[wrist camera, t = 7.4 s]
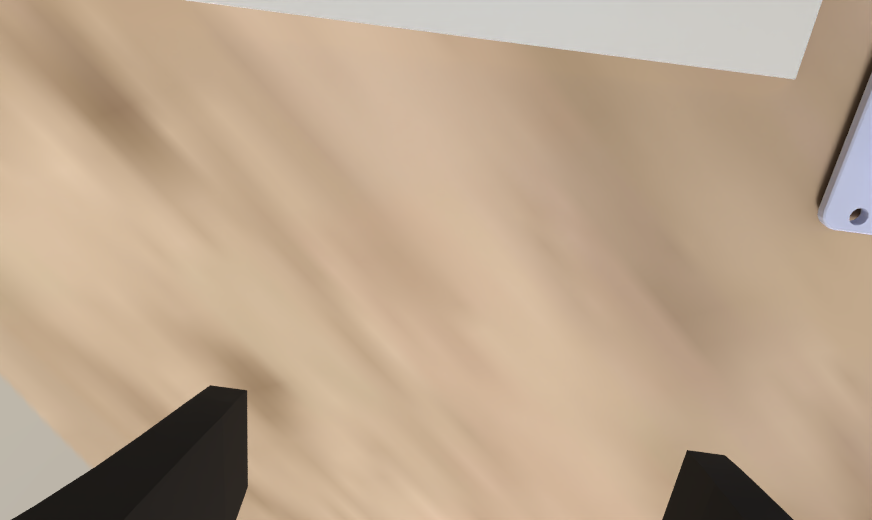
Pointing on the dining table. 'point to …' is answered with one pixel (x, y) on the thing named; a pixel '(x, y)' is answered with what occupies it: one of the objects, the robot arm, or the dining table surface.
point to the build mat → (600, 26)
